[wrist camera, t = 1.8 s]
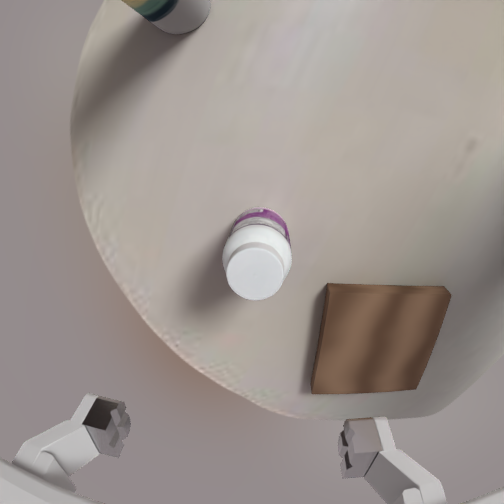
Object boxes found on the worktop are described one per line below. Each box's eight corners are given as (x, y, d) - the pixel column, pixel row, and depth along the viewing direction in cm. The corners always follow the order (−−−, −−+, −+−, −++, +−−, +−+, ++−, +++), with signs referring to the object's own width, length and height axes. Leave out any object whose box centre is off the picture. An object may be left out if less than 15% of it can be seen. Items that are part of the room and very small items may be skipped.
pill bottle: (277, 265, 32) (277, 319, 23) (225, 248, 32) (207, 296, 23) (296, 215, 30) (306, 253, 21) (242, 197, 30) (228, 227, 21)
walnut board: (443, 286, 32) (451, 294, 30) (411, 379, 37) (416, 389, 35) (327, 283, 32) (330, 292, 31) (310, 382, 38) (311, 394, 36)
